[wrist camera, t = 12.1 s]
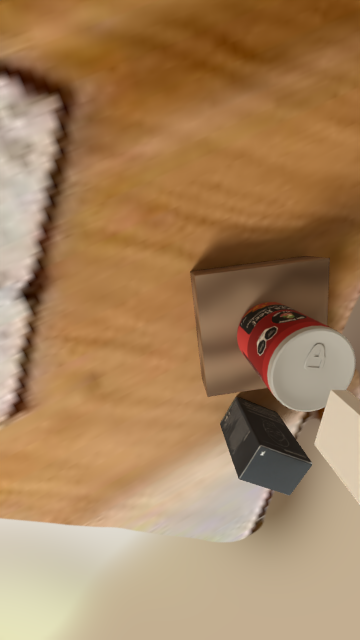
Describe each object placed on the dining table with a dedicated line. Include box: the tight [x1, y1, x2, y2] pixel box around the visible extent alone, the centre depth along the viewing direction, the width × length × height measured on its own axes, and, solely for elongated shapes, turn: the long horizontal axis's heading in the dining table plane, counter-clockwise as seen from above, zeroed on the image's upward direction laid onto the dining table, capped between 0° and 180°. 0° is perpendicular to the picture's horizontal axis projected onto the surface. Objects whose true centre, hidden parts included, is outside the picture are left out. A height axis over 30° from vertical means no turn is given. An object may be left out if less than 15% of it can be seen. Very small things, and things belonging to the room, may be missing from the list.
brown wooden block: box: [190, 256, 330, 397], centre depth 36 cm, size 16×16×5 cm
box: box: [220, 397, 312, 495], centre depth 38 cm, size 8×6×11 cm
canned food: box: [237, 302, 356, 412], centre depth 28 cm, size 8×8×11 cm
